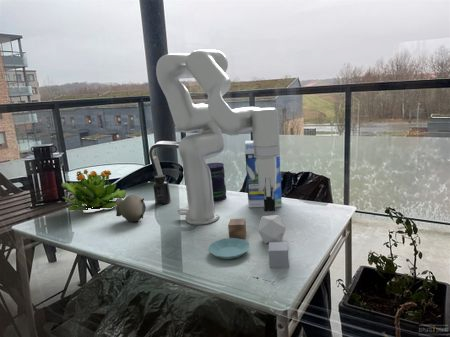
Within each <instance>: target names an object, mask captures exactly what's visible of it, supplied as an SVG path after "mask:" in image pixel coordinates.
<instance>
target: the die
mask: <svg viewBox="0 0 450 337" xmlns="http://www.w3.org/2000/svg"><path fill="white" fill-rule="evenodd" d="M286 229H287V227H286V225H285V224H284V222H283V220H282V219H281V217H280V216H279V214H271V215H262V216H261V218H260V221H259V223H258V227H257V232H258V234H259V235H260V237H261V239H262V241H263V244H269V242H283V238H284V236H285V232H286Z"/></svg>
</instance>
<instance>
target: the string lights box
mask: <svg viewBox="0 0 450 337" xmlns="http://www.w3.org/2000/svg"><path fill="white" fill-rule="evenodd" d="M244 153H245V154H244V155H245V171H246V185H247V186H246V188H247V200H248V208H264V189H263V191H261V192H260V191H259V182H258V158H255V157H254V145H253V140H245V143H244ZM280 156H281V155H280ZM280 156H279V157H276V189H275V191H274V197H275V208H276V207H282V203H283V202H282V200H283V198H282V176H281V157H280Z"/></svg>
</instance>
